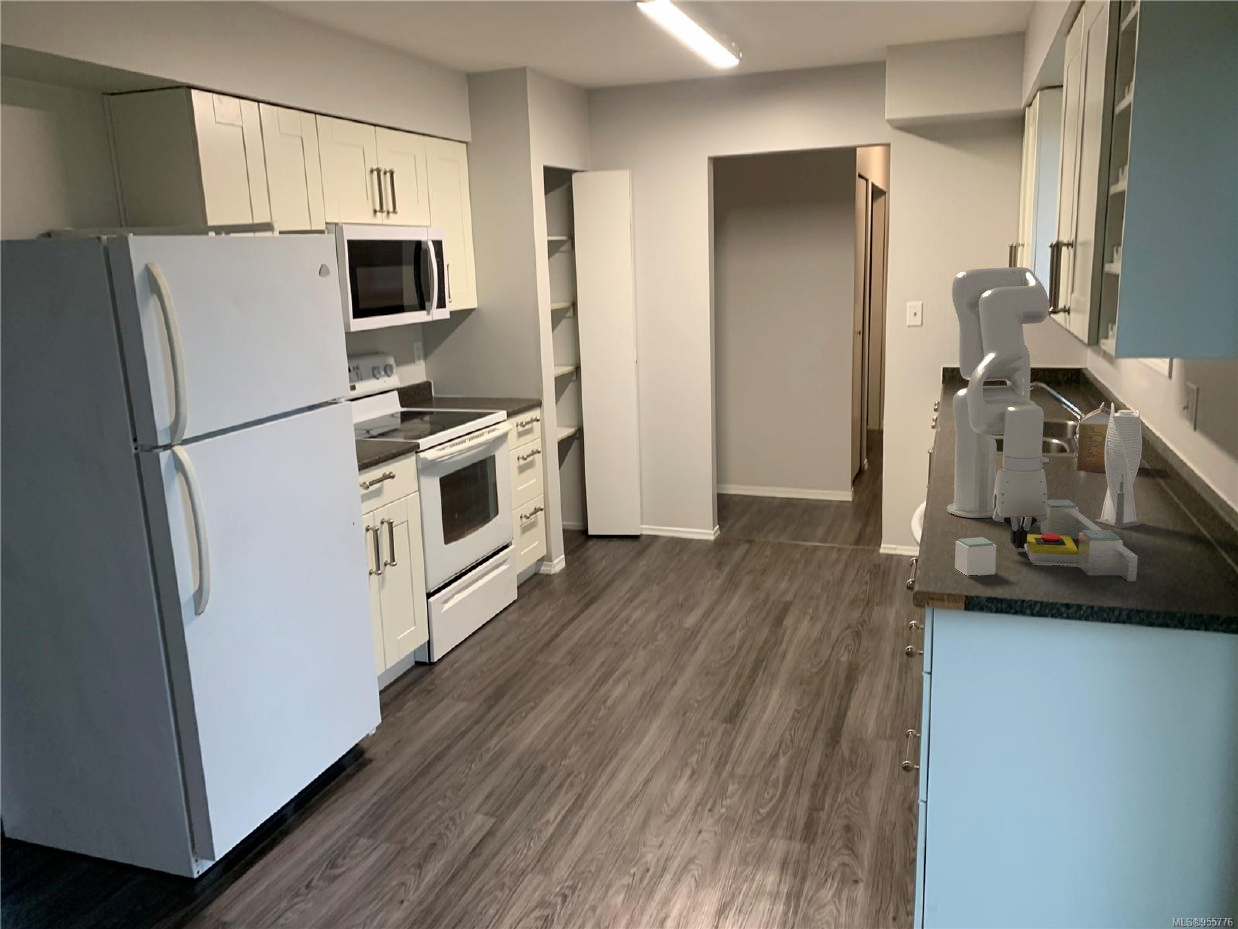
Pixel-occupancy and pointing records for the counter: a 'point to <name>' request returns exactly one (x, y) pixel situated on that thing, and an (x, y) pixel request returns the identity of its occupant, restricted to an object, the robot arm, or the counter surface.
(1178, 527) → the counter surface
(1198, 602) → the counter surface
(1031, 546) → the emergency button
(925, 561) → the counter surface
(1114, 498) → the skyscraper
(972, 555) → the block
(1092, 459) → the milk carton
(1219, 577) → the counter surface
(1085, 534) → the rail fixture
